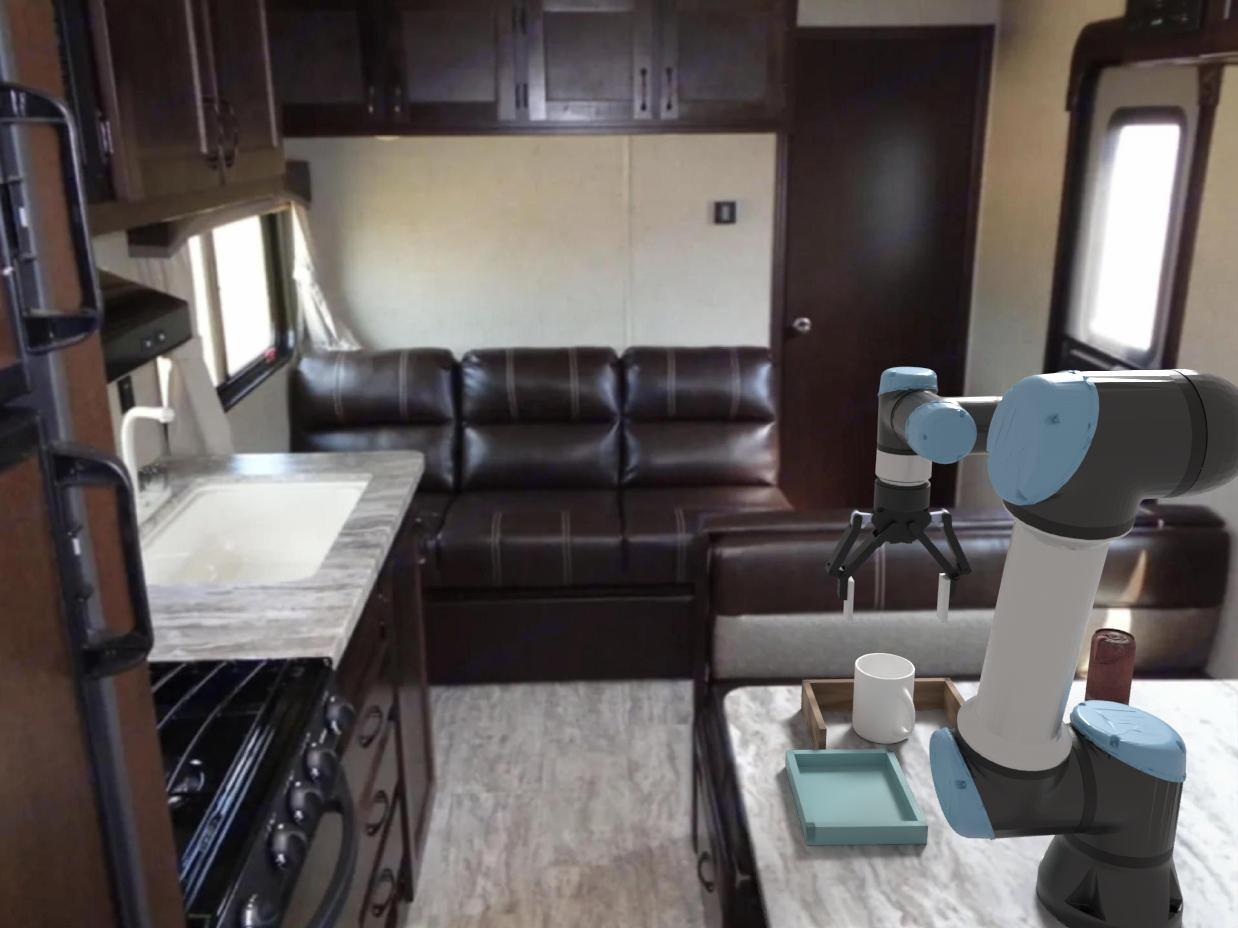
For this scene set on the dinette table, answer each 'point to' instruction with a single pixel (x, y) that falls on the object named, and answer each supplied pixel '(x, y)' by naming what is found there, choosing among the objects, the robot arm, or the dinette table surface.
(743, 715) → the dinette table surface
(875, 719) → the mug
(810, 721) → the bay
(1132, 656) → the can
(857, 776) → the tray
